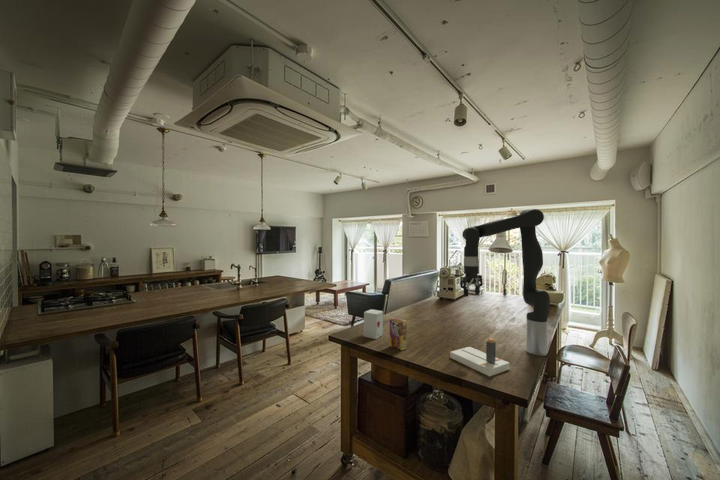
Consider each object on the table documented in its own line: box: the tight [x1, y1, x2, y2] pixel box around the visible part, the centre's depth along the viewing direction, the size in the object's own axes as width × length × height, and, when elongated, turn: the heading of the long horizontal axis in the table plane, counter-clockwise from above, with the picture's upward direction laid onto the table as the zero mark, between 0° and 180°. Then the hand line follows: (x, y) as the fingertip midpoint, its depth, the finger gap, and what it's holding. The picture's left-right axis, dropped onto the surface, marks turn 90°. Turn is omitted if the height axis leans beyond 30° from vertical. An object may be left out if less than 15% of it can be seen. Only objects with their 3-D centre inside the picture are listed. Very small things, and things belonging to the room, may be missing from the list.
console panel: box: [449, 346, 511, 377], centre depth 134 cm, size 14×22×3 cm, turn 29°
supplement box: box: [363, 308, 384, 340], centre depth 171 cm, size 9×9×15 cm
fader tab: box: [485, 337, 497, 363], centre depth 128 cm, size 3×3×10 cm
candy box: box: [388, 317, 408, 351], centre depth 153 cm, size 9×4×15 cm, turn 47°
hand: (471, 295), depth 150 cm, fingers open, 8 cm apart
